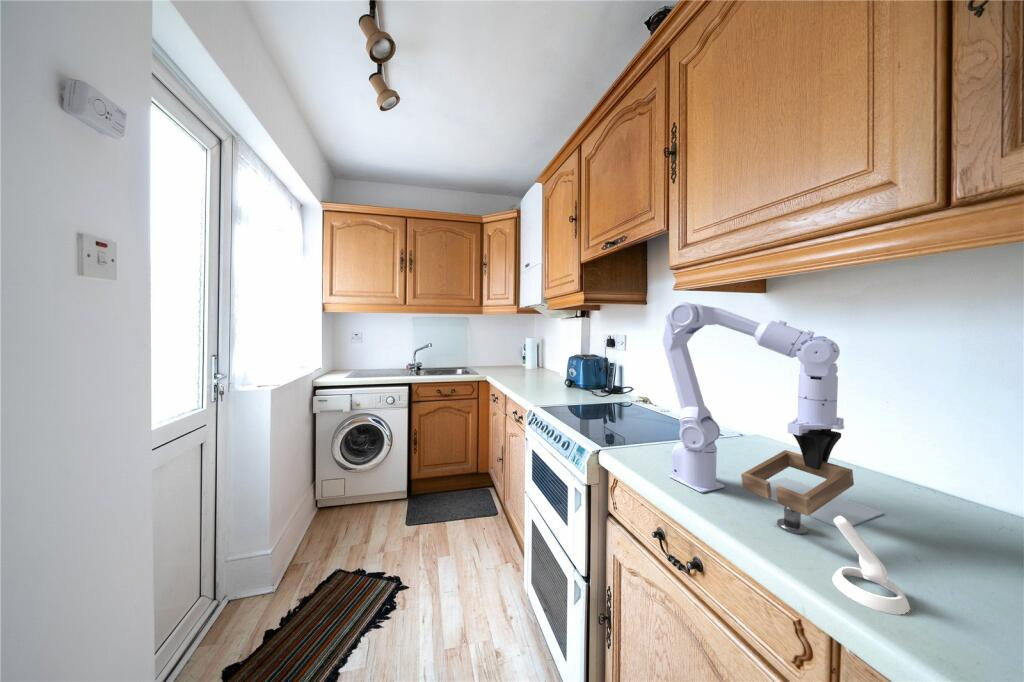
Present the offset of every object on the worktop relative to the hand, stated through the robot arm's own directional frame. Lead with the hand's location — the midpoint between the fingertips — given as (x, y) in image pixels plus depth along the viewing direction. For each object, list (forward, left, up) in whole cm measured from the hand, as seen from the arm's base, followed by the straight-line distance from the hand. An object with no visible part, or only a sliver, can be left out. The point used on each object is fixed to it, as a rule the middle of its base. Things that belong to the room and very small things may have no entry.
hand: (815, 466), depth 67 cm
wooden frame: (0, -6, -3) cm, 7 cm away
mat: (-5, +8, -10) cm, 14 cm away
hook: (+14, -15, -11) cm, 24 cm away
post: (0, -7, -10) cm, 13 cm away
